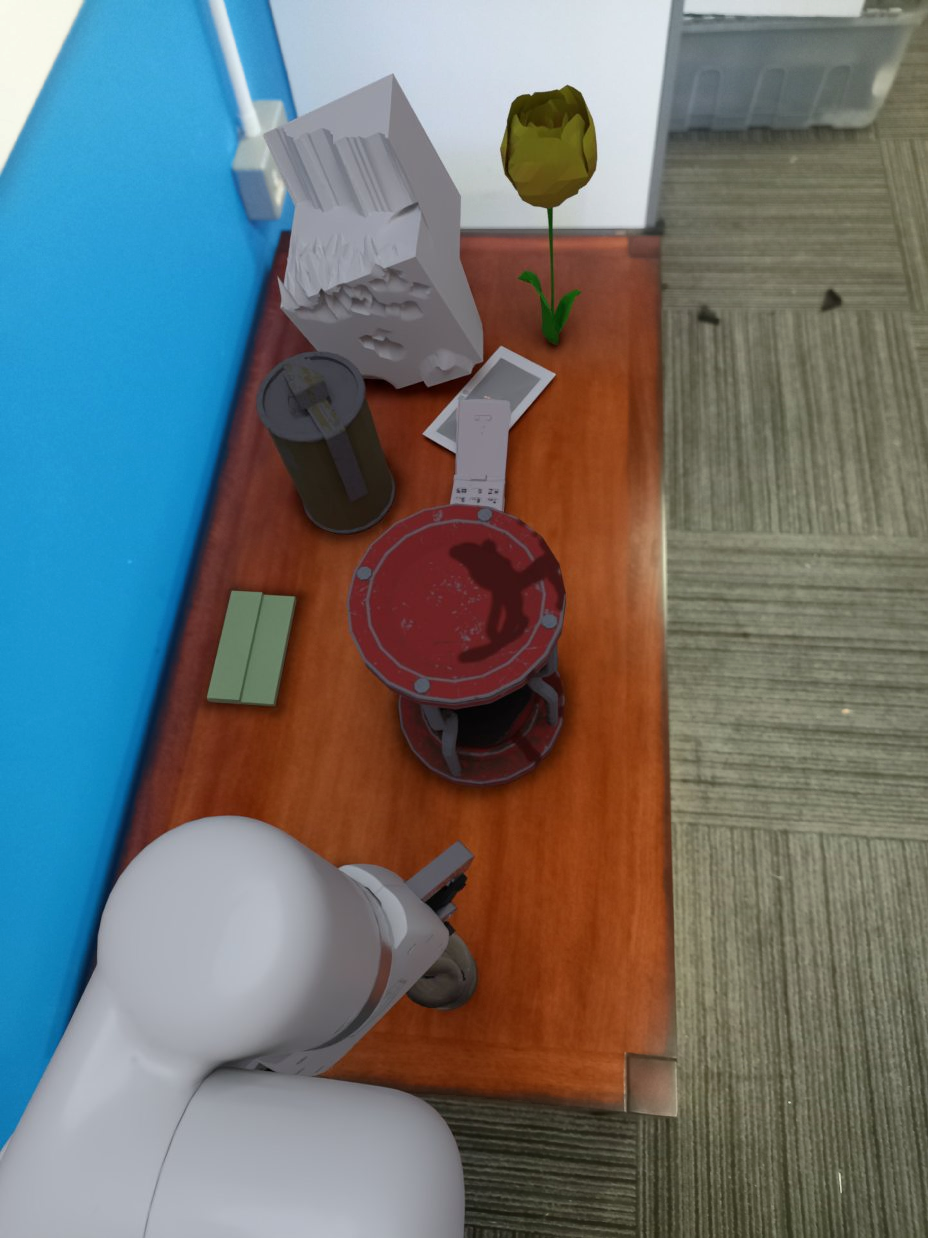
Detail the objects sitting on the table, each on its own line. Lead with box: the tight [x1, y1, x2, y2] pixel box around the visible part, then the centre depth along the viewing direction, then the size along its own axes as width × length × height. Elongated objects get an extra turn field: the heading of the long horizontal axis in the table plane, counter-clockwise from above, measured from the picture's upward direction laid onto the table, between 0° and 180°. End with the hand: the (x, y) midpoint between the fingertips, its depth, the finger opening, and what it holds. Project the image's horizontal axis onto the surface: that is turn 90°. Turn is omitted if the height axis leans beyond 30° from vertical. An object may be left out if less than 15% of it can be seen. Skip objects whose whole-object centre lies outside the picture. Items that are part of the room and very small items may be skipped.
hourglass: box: [346, 503, 567, 789], centre depth 76 cm, size 16×16×25 cm
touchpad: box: [422, 345, 557, 454], centre depth 101 cm, size 8×15×2 cm, turn 143°
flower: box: [499, 84, 598, 346], centre depth 92 cm, size 9×8×30 cm
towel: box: [206, 590, 298, 707], centre depth 92 cm, size 12×7×1 cm, turn 174°
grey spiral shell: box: [405, 932, 479, 1012], centre depth 71 cm, size 6×6×15 cm
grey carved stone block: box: [262, 73, 484, 390], centre depth 97 cm, size 20×16×25 cm
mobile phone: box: [449, 399, 511, 512], centre depth 93 cm, size 6×6×25 cm
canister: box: [255, 350, 396, 535], centre depth 90 cm, size 11×10×20 cm
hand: (376, 974), depth 54 cm, fingers open, 9 cm apart
